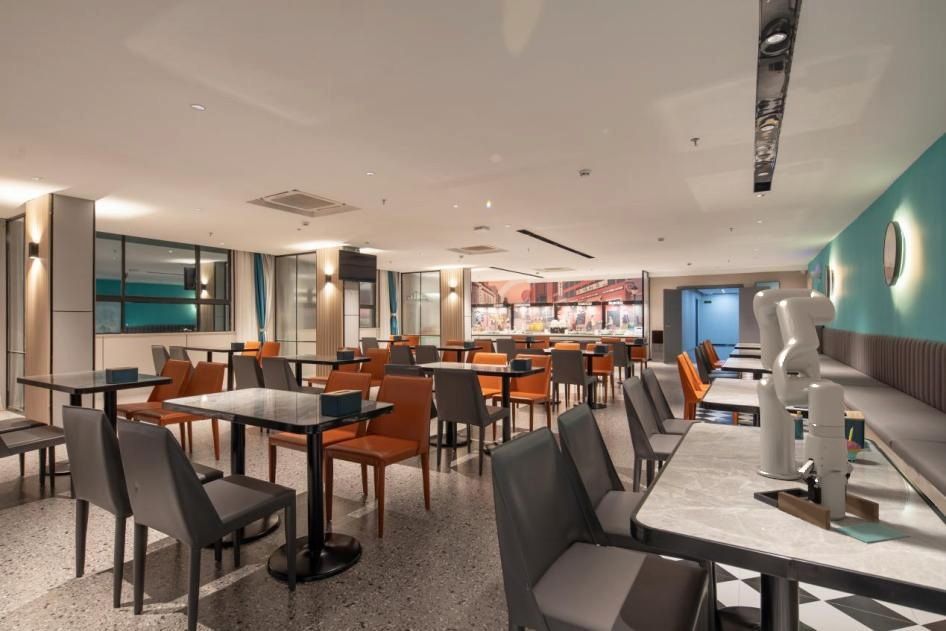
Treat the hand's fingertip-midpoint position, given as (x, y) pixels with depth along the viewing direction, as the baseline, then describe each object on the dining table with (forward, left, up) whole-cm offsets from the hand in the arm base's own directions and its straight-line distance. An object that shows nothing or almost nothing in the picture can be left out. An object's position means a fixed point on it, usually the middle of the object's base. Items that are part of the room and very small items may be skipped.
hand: (827, 499), depth 126 cm
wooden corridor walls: (0, 0, -4) cm, 4 cm away
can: (0, 0, -4) cm, 4 cm away
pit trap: (0, -11, -4) cm, 12 cm away
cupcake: (-55, -38, -4) cm, 67 cm away
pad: (0, +11, -4) cm, 11 cm away
